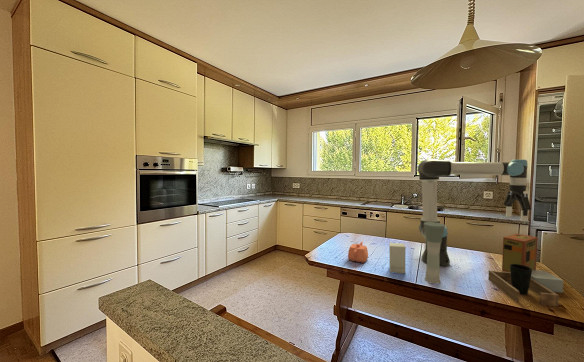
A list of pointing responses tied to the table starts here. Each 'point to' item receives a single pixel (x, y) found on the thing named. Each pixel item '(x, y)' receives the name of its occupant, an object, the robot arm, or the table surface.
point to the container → (433, 250)
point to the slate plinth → (548, 280)
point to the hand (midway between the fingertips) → (515, 218)
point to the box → (519, 251)
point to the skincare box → (397, 257)
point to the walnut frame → (501, 282)
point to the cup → (520, 277)
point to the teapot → (358, 253)
